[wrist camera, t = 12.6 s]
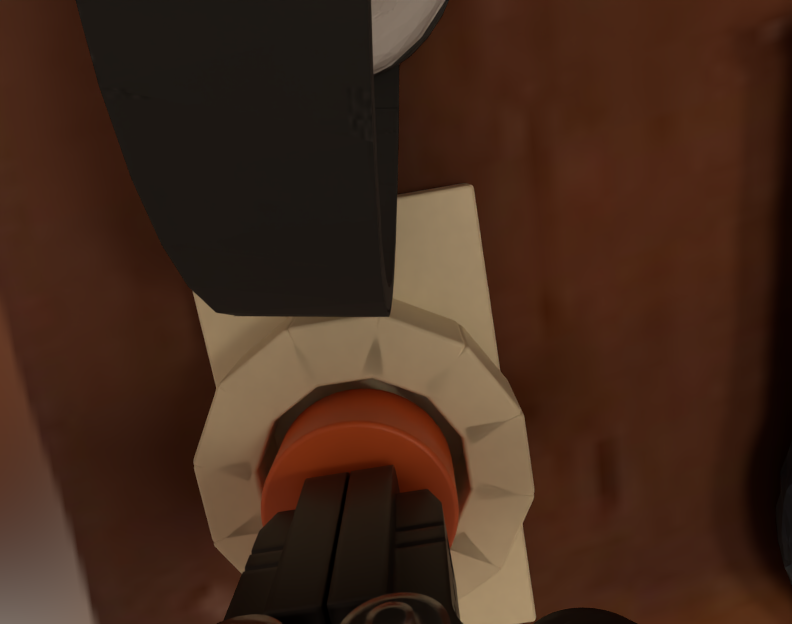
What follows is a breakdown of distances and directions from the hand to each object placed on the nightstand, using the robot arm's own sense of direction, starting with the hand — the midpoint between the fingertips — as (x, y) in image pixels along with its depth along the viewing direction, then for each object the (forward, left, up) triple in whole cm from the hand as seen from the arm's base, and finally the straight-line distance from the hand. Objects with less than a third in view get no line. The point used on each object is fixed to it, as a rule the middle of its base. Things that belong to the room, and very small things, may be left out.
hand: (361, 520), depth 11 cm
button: (0, 0, -2) cm, 2 cm away
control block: (0, 0, -4) cm, 4 cm away
